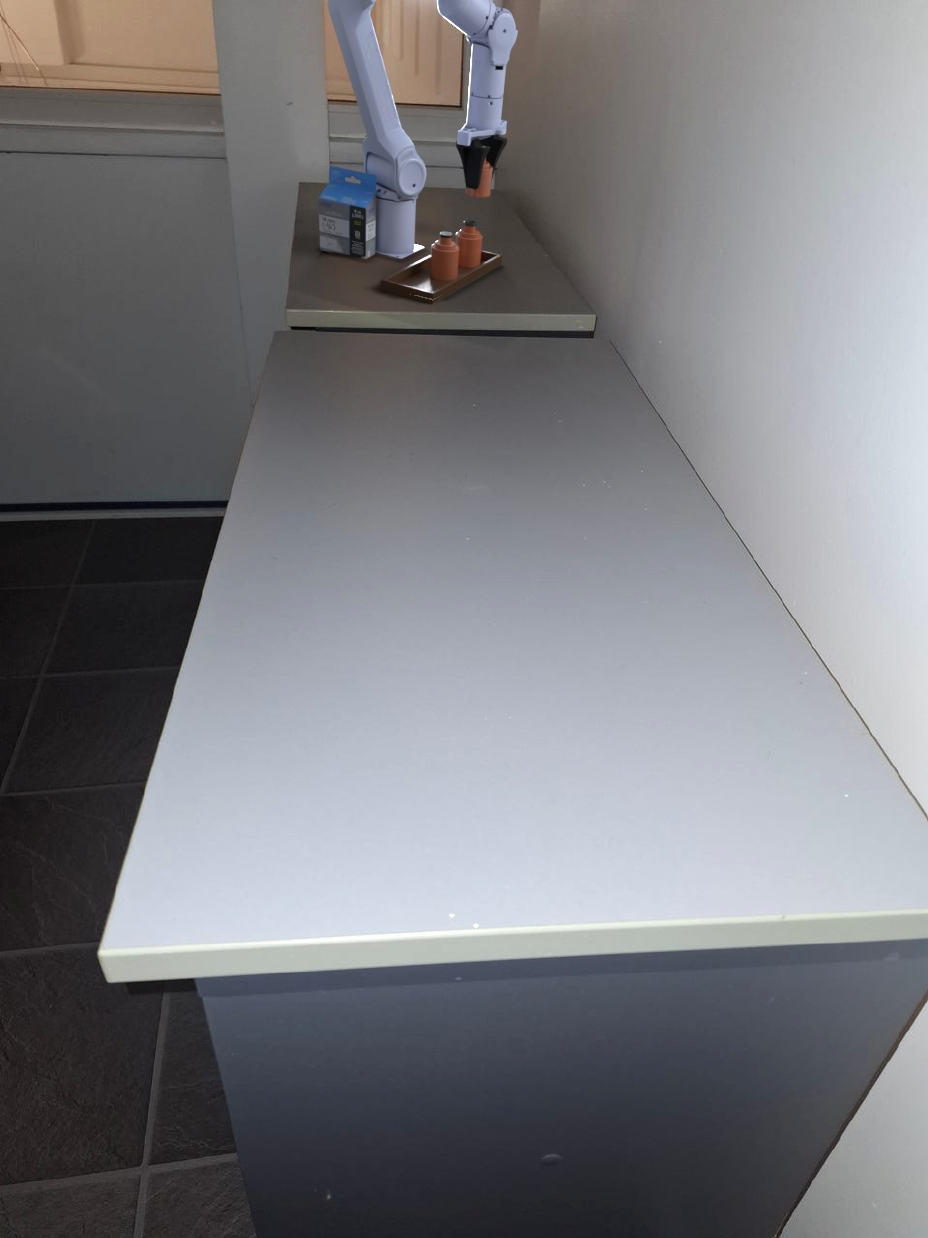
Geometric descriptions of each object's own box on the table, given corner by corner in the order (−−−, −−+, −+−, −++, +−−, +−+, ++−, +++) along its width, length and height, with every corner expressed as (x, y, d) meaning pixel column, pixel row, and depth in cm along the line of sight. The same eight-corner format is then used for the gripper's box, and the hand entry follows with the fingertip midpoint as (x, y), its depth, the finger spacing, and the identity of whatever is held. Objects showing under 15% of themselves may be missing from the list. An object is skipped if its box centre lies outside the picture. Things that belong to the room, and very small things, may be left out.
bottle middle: (424, 276, 136) (426, 233, 131) (438, 269, 139) (440, 227, 134) (449, 283, 134) (451, 239, 130) (462, 275, 137) (465, 233, 133)
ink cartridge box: (318, 250, 142) (315, 169, 134) (330, 244, 145) (328, 164, 137) (365, 261, 140) (365, 179, 132) (376, 255, 143) (377, 174, 135)
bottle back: (449, 263, 141) (451, 222, 137) (461, 257, 144) (464, 216, 140) (472, 269, 140) (476, 227, 135) (484, 262, 143) (488, 221, 139)
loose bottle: (460, 193, 149) (463, 152, 145) (472, 189, 152) (475, 148, 148) (483, 199, 148) (486, 157, 143) (494, 194, 151) (498, 153, 146)
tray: (432, 307, 127) (433, 293, 126) (380, 292, 130) (380, 279, 129) (501, 267, 143) (502, 254, 142) (453, 254, 146) (453, 242, 145)
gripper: (488, 104, 134) (480, 198, 143) (526, 94, 144) (516, 182, 153) (448, 97, 136) (443, 189, 145) (488, 87, 146) (481, 174, 155)
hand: (478, 185), depth 149 cm, fingers closed on loose bottle, 4 cm apart
